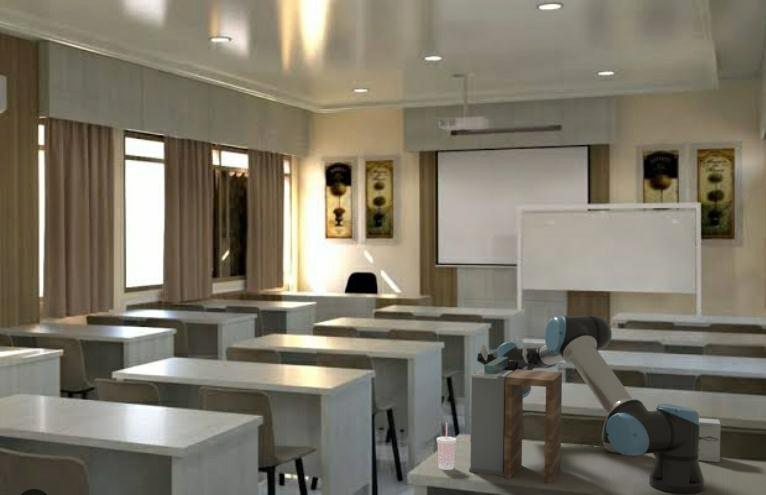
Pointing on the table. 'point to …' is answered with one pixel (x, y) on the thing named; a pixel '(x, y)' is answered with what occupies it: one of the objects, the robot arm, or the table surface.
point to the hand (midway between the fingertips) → (503, 349)
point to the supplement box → (709, 440)
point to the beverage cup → (446, 452)
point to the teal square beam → (492, 368)
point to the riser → (515, 416)
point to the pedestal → (488, 424)
